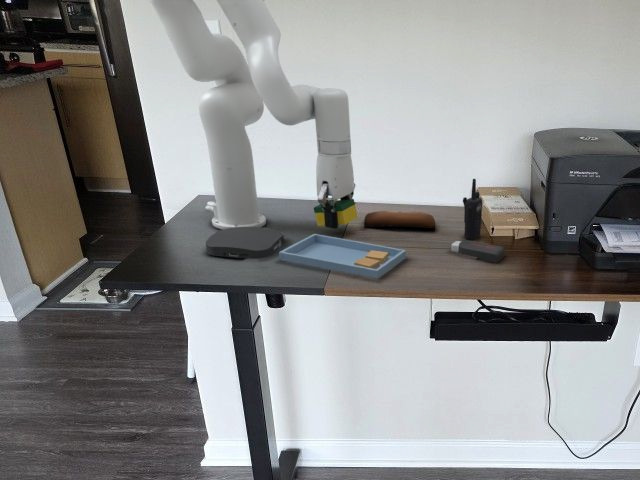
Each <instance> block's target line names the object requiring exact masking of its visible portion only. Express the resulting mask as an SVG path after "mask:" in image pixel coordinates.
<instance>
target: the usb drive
mask: <svg viewBox="0 0 640 480" xmlns="http://www.w3.org/2000/svg"><path fill="white" fill-rule="evenodd" d="M450 251H451V252H453V253H454V252H455V253H458V254H460V255H464V256H468V257H474V258H475V260H477V261H478V260H479V261H482V262H489V263H492V264H493V263H494V264H497V263H499V262H500V261H501V260H502V259H504V257H505V254H506V253H505V252H506V250H505V248H504V247H503V246H499V245H495V244H491V243H485V242H479V241H473V240H470V239H462V241H459V240H455V241H454V242H453V243H451V245H450Z"/></svg>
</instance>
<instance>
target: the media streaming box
mask: <svg viewBox="0 0 640 480" xmlns="http://www.w3.org/2000/svg"><path fill="white" fill-rule="evenodd" d="M284 244H285V234H284V233H283V232H281V231H279V230H277V229H274V228H273V229H272V228H268V227H263V226H262V227H234V228H228V229H219V230H217V231H216V232H214V233H213V234H211V235H210V236H209V237H208V238H207V239H206V240H205V248H206V253H207V254H208V255H211V256H215V257H225V258H233V259H264V258H268V257H271V256H272V255H273V254H275V253H276V252H277V251H278V250H279V249H280V248H282V246H283V245H284Z"/></svg>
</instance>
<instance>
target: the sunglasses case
mask: <svg viewBox="0 0 640 480" xmlns="http://www.w3.org/2000/svg"><path fill="white" fill-rule="evenodd" d="M381 227H385V228H386V227H399V228H408V227H409V228H422V229H423V228H424V229H433V230H434V231H436V220H435V217H434V216H433V215H432V214H429V213H427V212H422V211H405V212H402V211H388V210H378V211H372V212H370V213H369V212H368V213H367V214H366V215H365V216H364V220H363V228H364V229H366V228H381Z"/></svg>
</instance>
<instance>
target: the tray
mask: <svg viewBox="0 0 640 480" xmlns="http://www.w3.org/2000/svg"><path fill="white" fill-rule="evenodd" d="M371 250H373V251H381V252H388V259H387V260H386V261H385V262H384V263H383V264H380V267H379V268H377V269H372V268H367V267H362V266H357V265H354V262H356V261H358V260H360V259H362V258H364V257H365V256H366V255H367V254H368V253H369V252H370V251H371ZM278 255H279V261H282V262H287V263H292V264H297V265H303V266H308V267H314V268H318V269H324V270H328V271H334V272H338V273H339V272H340V273H345V274H350V275H355V276H361V277H366V278H371V279H375V280H378V279H379V278H382V277H383V276H384V275H385V274H386V273H388V272H389V271H391V270H392V269H394V268H395V267H396V266H397V265H399V264H400V263H401V262H403V261H404V260H405V259H407V249H402V248H396V247H391V246H386V245H380V244H374V243H369V242H363V241H357V240H352V239H347V238H340V237H336V236H329V235H325V234H320V233H319V234H318V233H313V234H311V235H309V236H306V237H305V238H303V239H302V240H299V241H298V242H296V243H294V244H292V245H290V246H287V247H286V248H284V249H283V250H282V249H281V250H280V251H279V252H278Z"/></svg>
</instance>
